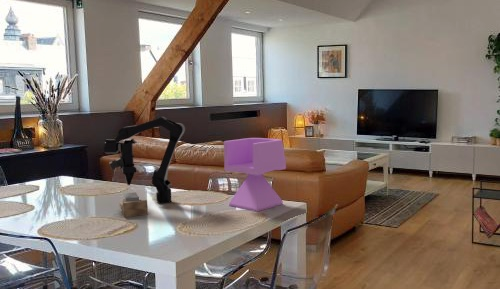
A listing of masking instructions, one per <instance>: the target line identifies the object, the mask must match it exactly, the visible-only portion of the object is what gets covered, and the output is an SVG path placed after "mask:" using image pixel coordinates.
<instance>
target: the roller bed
mask: <svg viewBox="0 0 500 289" xmlns="http://www.w3.org/2000/svg"><path fill="white" fill-rule="evenodd" d="M141 200H142V199H139V201H141ZM123 202H125V200H124V198H123V197H122V201H119V207H120V210H121V213H122V216H124V213H123V212H124V211H123Z"/></svg>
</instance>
